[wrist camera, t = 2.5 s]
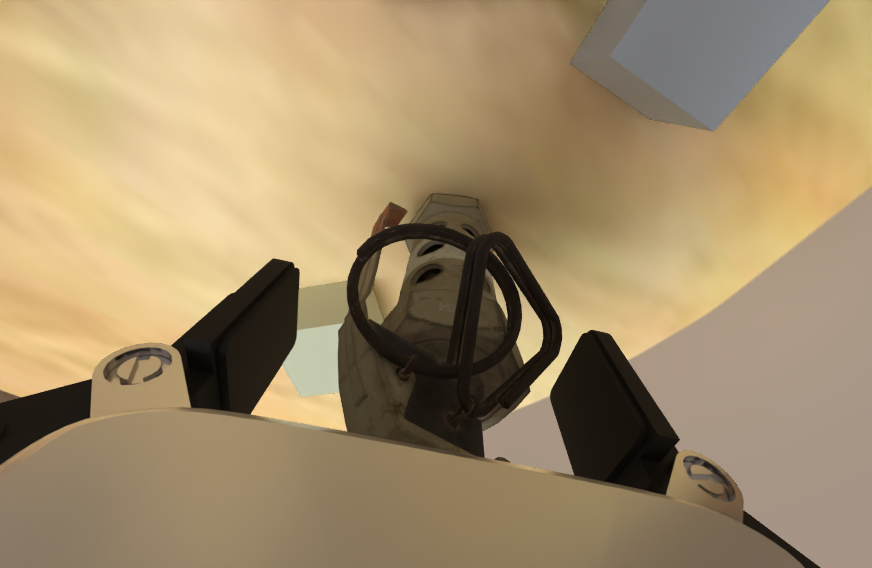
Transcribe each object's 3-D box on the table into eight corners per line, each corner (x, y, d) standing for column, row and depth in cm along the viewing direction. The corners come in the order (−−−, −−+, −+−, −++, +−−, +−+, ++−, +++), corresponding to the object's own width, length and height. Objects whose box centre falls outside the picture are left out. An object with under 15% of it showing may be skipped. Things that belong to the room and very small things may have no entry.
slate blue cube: (649, -67, 14) (737, -134, 10) (737, 6, 15) (851, -25, 11) (568, 63, 16) (609, 56, 12) (649, 119, 17) (713, 131, 13)
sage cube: (299, 288, 23) (264, 335, 19) (369, 276, 23) (349, 322, 18) (326, 344, 26) (300, 396, 21) (390, 335, 25) (376, 388, 21)
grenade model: (528, 194, 19) (679, 423, 6) (453, 280, 22) (451, 552, 9) (436, 120, 18) (384, 224, 5) (368, 223, 21) (222, 460, 8)
